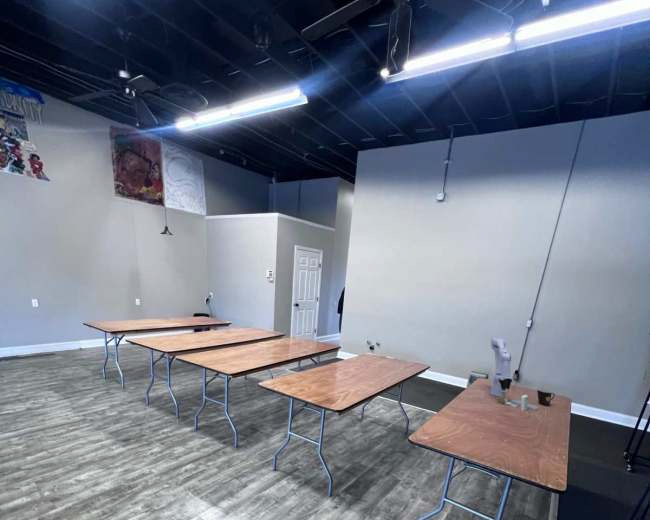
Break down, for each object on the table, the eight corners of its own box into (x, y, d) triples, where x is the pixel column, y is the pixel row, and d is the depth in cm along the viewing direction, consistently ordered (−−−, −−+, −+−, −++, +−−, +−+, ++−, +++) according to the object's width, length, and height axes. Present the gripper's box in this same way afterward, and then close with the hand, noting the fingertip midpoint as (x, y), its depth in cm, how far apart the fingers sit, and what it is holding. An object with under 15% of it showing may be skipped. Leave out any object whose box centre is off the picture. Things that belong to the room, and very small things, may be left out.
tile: (520, 409, 204) (521, 396, 204) (524, 407, 208) (524, 394, 209) (524, 411, 202) (524, 397, 203) (528, 409, 206) (528, 395, 207)
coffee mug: (538, 405, 215) (538, 391, 215) (535, 401, 223) (535, 387, 223) (558, 408, 210) (558, 394, 211) (554, 404, 218) (554, 390, 219)
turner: (499, 402, 215) (499, 392, 215) (502, 400, 219) (502, 391, 219) (514, 407, 207) (514, 397, 208) (517, 405, 211) (518, 395, 211)
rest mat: (510, 402, 217) (510, 401, 217) (514, 400, 222) (514, 399, 222) (535, 410, 205) (535, 409, 205) (539, 407, 210) (539, 407, 210)
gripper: (507, 372, 210) (507, 392, 208) (515, 370, 219) (515, 389, 217) (496, 369, 215) (496, 389, 213) (504, 368, 224) (504, 387, 222)
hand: (505, 389), depth 215 cm, fingers open, 7 cm apart
